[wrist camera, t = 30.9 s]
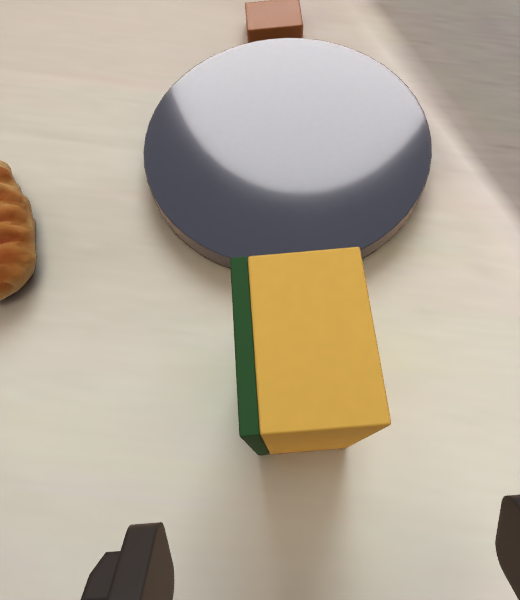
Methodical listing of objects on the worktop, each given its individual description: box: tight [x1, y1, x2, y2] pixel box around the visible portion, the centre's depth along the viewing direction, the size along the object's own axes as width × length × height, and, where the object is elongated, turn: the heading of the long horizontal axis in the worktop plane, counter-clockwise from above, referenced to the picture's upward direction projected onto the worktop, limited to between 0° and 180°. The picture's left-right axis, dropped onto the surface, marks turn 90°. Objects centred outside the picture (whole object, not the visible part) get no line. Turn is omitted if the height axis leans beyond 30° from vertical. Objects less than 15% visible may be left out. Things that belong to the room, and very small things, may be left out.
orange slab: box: [245, 0, 303, 43], centre depth 33 cm, size 4×3×2 cm
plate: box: [144, 38, 432, 268], centre depth 29 cm, size 18×18×2 cm
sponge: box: [230, 247, 391, 455], centre depth 19 cm, size 4×6×10 cm
